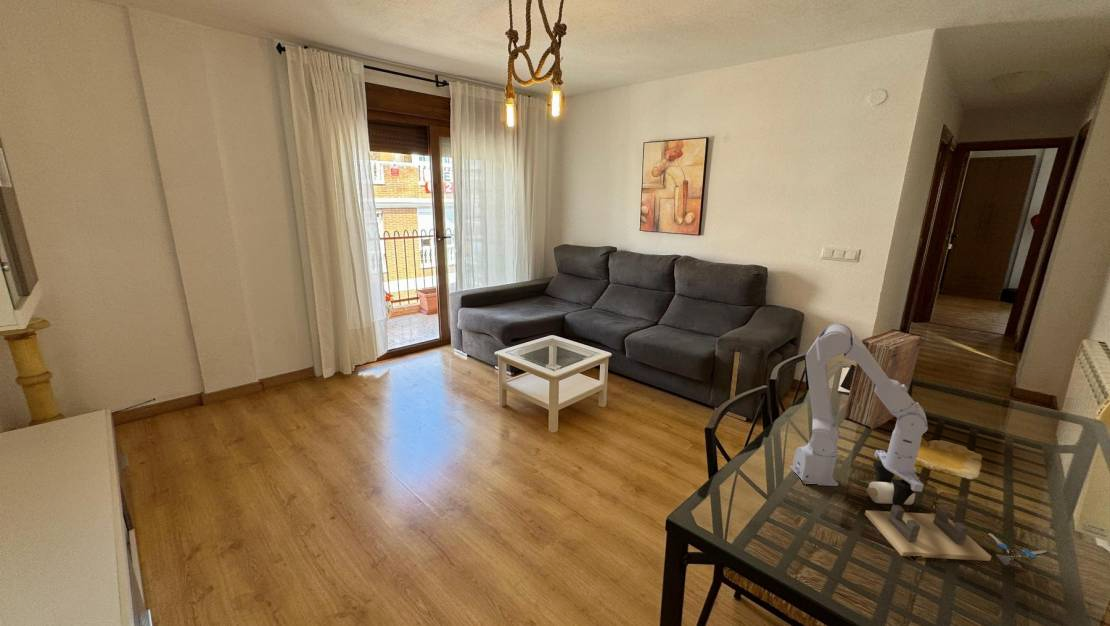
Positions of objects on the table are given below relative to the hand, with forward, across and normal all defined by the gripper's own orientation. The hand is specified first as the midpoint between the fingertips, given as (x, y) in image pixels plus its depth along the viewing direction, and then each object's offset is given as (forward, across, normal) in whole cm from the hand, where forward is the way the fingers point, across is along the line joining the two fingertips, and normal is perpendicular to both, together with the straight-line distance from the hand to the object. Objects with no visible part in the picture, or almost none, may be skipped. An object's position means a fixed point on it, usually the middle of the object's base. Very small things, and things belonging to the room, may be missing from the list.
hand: (889, 496), depth 115 cm
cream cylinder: (-1, 0, 0) cm, 1 cm away
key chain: (+2, -14, -17) cm, 23 cm away
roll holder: (+1, -12, 0) cm, 12 cm away
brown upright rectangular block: (+2, +48, -27) cm, 55 cm away
